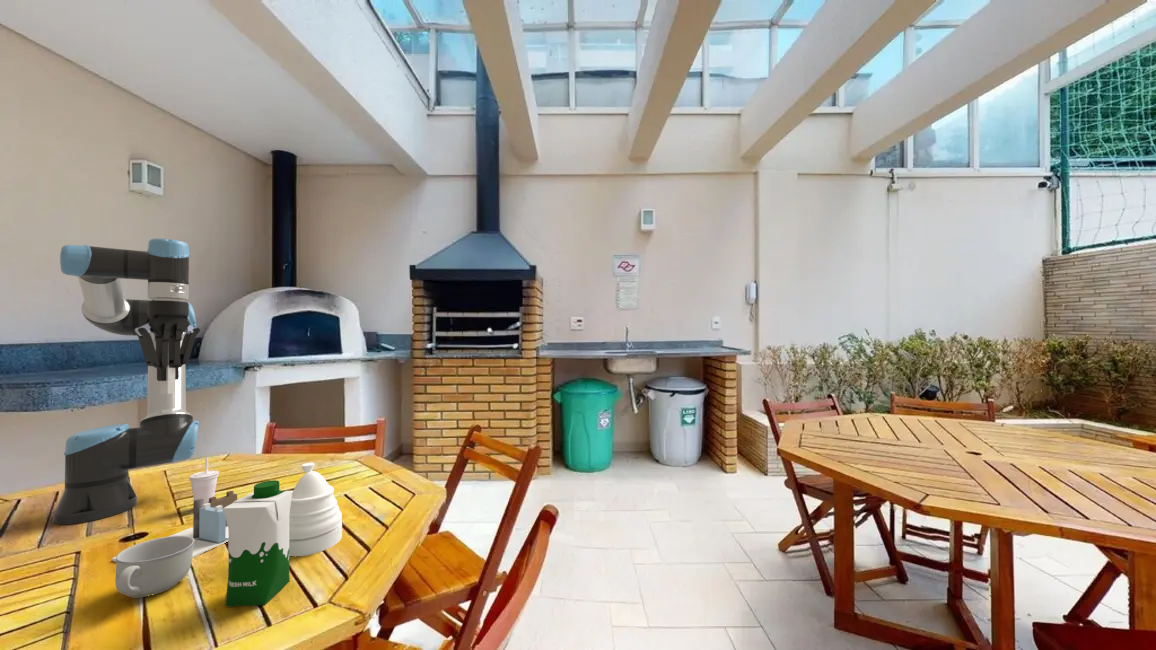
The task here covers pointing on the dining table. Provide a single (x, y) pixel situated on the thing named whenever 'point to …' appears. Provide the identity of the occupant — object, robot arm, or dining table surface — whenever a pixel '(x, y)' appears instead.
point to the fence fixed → (213, 502)
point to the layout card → (199, 542)
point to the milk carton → (258, 545)
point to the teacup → (153, 565)
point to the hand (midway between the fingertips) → (167, 393)
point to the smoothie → (204, 484)
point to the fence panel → (212, 523)
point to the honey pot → (313, 515)
